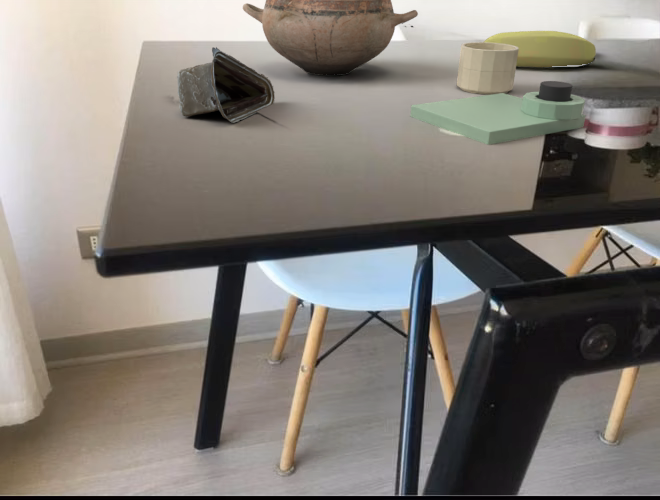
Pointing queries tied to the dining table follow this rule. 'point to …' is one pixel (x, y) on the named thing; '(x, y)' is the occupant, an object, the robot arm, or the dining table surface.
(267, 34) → the cooking pot
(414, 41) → the dining table surface
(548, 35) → the banana
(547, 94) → the button
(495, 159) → the dining table surface
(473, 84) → the beige faceted cup
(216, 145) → the dining table surface
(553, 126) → the scale
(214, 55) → the hollow triangular tube
